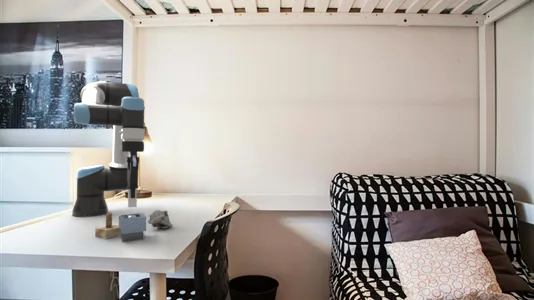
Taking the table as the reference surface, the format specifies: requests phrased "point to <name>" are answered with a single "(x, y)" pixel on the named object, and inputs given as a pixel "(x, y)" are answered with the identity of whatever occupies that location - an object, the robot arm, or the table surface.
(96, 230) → the stand
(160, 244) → the table surface
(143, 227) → the collar
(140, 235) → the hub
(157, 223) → the mineral specimen
